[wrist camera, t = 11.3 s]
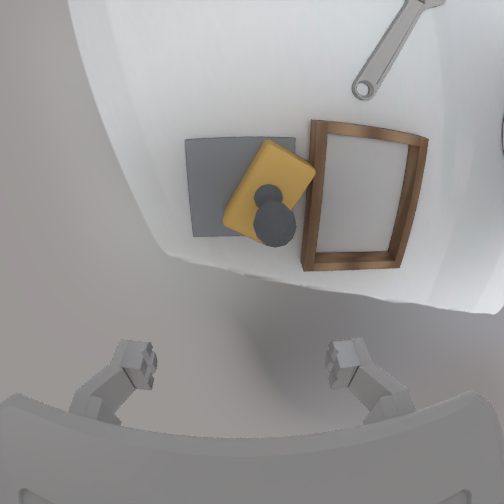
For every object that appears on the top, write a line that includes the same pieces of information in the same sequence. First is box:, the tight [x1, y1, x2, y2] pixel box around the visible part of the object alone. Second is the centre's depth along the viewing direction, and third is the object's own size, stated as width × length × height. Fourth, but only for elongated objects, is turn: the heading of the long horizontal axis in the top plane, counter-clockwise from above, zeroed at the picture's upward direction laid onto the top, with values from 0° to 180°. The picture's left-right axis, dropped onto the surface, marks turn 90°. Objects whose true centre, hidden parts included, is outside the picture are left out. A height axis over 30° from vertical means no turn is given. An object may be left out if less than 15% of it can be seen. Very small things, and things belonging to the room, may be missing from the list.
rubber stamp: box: [223, 139, 316, 247], centre depth 26 cm, size 10×6×12 cm, turn 151°
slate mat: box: [185, 137, 296, 237], centre depth 31 cm, size 12×12×1 cm
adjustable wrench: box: [352, 0, 446, 100], centre depth 19 cm, size 25×6×2 cm, turn 147°
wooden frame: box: [300, 120, 429, 271], centre depth 31 cm, size 14×18×2 cm
